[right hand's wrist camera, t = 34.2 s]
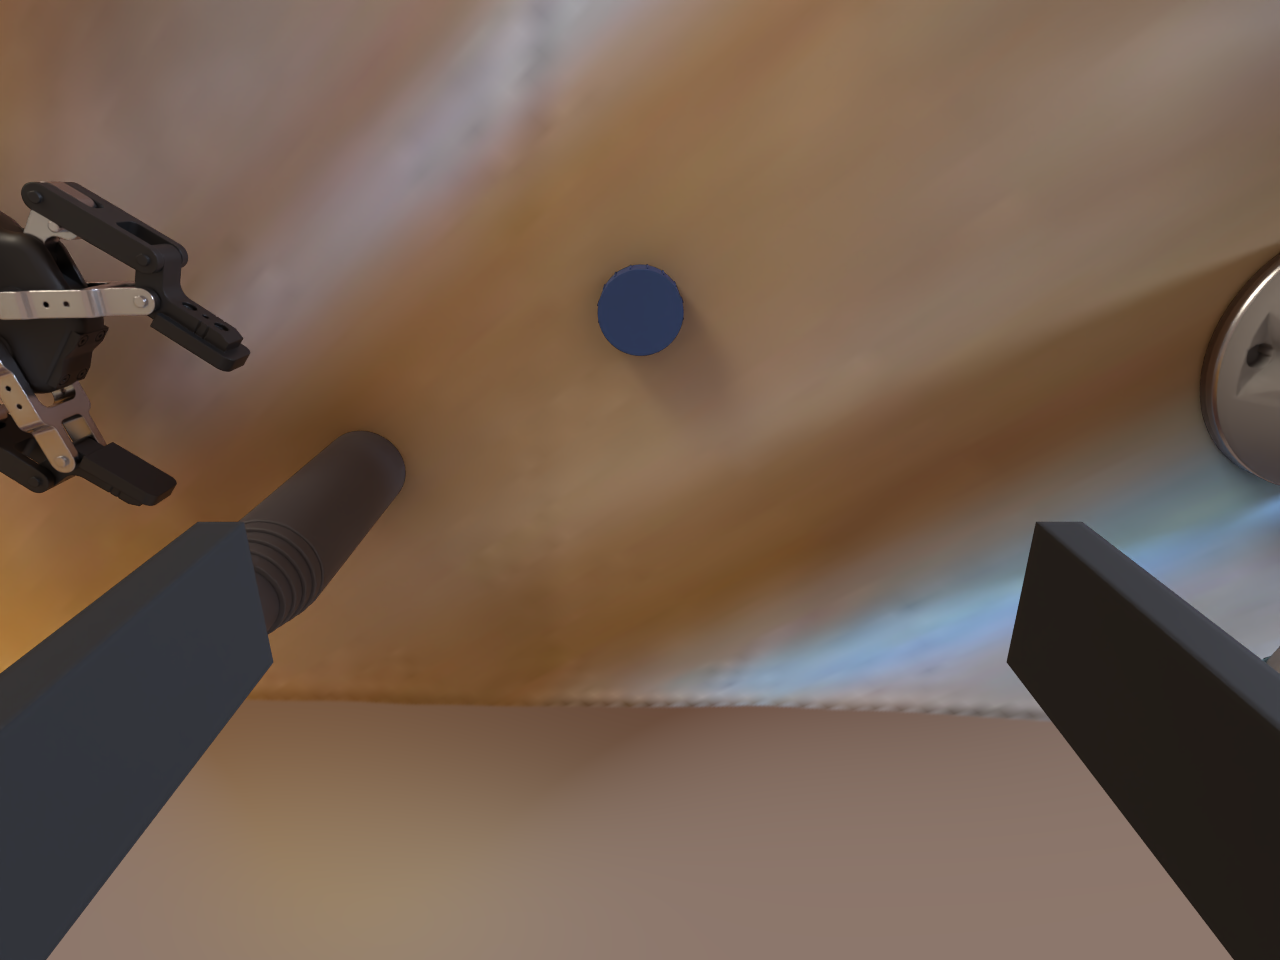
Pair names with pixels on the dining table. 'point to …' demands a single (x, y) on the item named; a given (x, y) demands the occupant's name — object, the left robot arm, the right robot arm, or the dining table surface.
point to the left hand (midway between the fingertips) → (201, 430)
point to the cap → (640, 310)
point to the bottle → (319, 521)
